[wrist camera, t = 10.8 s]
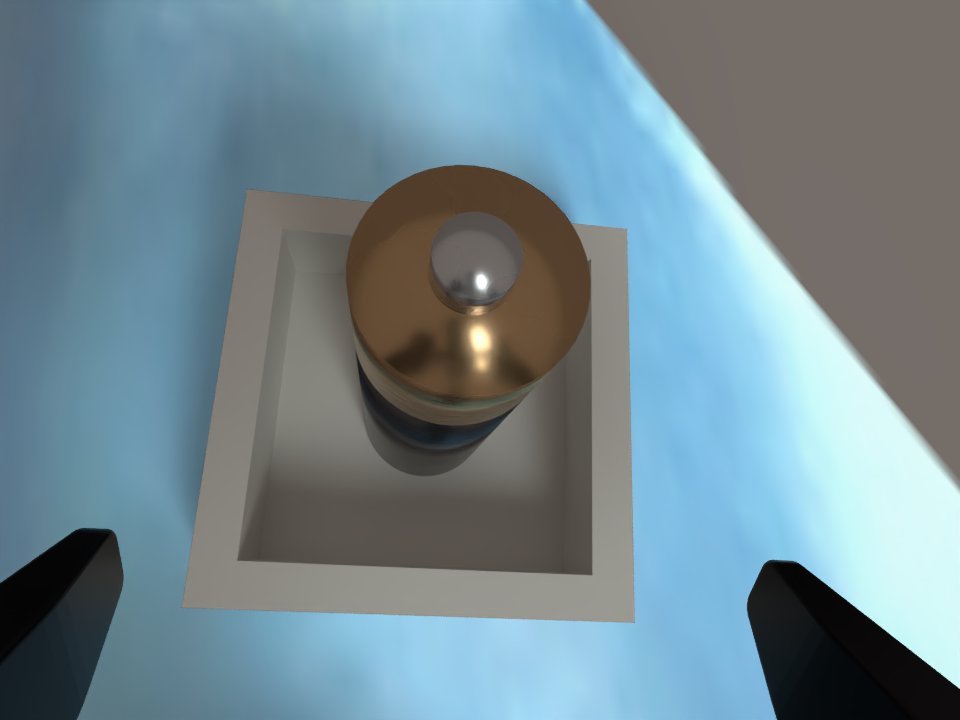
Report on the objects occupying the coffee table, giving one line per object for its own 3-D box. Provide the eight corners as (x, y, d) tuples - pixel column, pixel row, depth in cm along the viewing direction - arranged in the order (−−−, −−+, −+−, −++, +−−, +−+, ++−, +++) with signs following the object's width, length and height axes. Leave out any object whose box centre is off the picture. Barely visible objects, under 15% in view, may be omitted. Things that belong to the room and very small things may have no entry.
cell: (433, 501, 22) (499, 439, 9) (339, 423, 22) (284, 262, 10) (508, 409, 23) (655, 245, 11) (418, 336, 23) (458, 93, 11)
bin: (592, 610, 22) (634, 622, 18) (218, 597, 21) (181, 608, 17) (590, 276, 26) (627, 228, 22) (268, 245, 24) (247, 189, 20)
